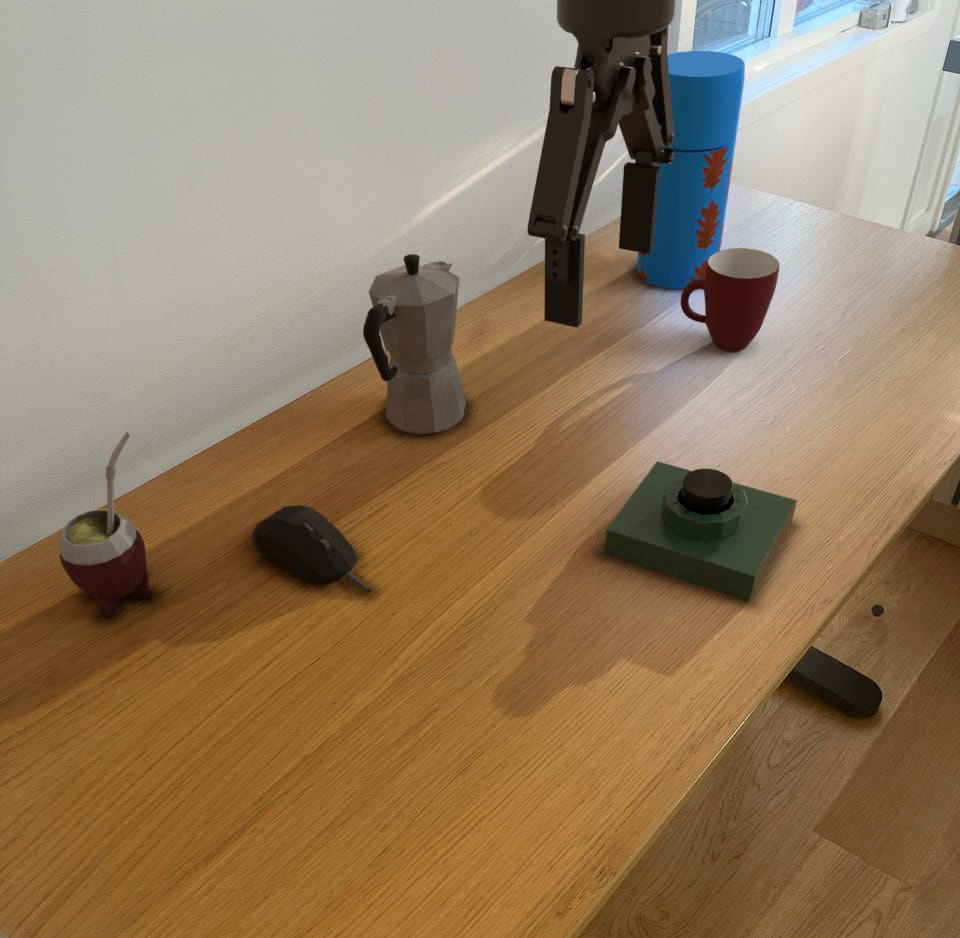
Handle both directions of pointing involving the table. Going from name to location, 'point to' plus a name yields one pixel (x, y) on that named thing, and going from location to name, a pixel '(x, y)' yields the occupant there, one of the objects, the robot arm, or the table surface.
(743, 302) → the mug
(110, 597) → the mate gourd
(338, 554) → the gaming mouse
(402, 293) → the coffeepot
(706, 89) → the thermos
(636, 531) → the green button base
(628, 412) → the table surface
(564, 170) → the robot arm
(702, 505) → the black round button
